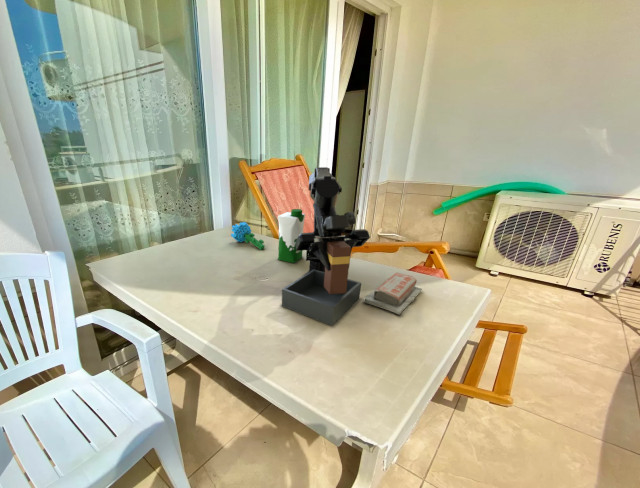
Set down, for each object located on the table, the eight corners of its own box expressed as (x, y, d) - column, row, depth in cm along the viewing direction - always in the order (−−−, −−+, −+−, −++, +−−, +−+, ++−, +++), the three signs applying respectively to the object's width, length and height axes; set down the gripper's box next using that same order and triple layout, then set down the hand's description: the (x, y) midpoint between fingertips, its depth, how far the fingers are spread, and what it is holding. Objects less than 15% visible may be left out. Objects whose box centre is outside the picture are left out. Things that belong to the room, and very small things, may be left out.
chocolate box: (323, 286, 84) (326, 242, 79) (339, 285, 84) (343, 240, 79) (329, 294, 80) (333, 248, 75) (346, 293, 80) (351, 247, 75)
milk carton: (295, 264, 115) (297, 213, 108) (274, 260, 120) (275, 210, 113) (305, 257, 122) (307, 208, 115) (285, 253, 127) (286, 206, 120)
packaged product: (390, 268, 98) (424, 277, 91) (388, 282, 99) (421, 292, 93) (365, 288, 86) (402, 300, 79) (363, 303, 88) (399, 316, 81)
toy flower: (253, 258, 131) (229, 239, 143) (268, 253, 137) (243, 235, 148) (256, 241, 127) (231, 222, 138) (272, 236, 132) (246, 219, 143)
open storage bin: (312, 284, 100) (313, 269, 98) (359, 299, 90) (361, 282, 88) (281, 305, 88) (281, 289, 86) (331, 326, 78) (333, 307, 76)
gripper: (299, 203, 76) (311, 260, 70) (371, 199, 78) (388, 254, 72) (291, 224, 87) (300, 276, 80) (354, 220, 88) (368, 271, 82)
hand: (338, 269), depth 78 cm, fingers closed on chocolate box, 4 cm apart
